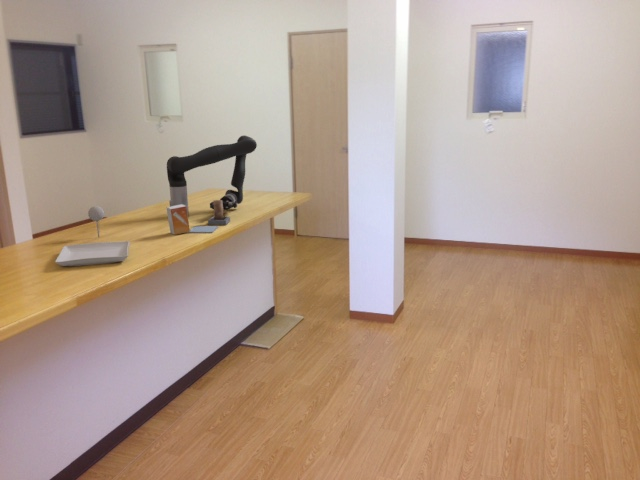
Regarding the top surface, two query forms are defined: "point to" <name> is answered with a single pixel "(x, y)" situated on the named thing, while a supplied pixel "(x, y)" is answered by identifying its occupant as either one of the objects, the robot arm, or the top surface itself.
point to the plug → (218, 209)
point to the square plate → (93, 253)
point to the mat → (203, 229)
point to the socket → (218, 221)
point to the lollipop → (96, 215)
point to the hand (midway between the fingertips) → (220, 207)
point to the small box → (178, 219)
